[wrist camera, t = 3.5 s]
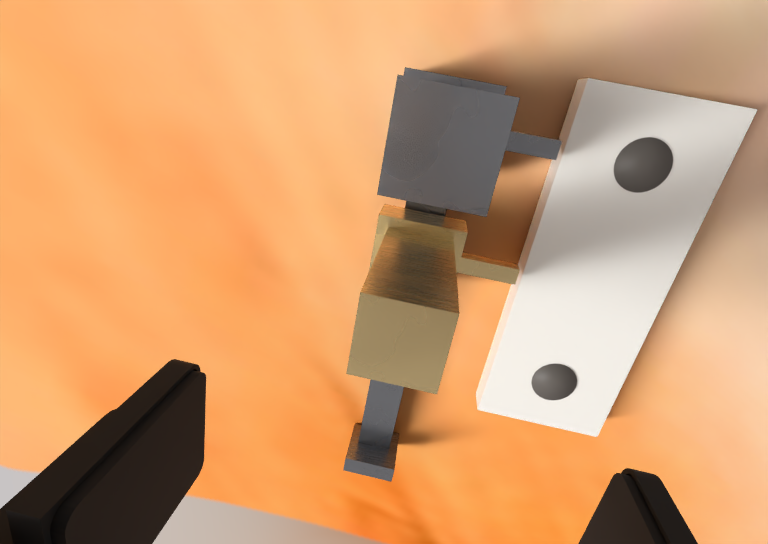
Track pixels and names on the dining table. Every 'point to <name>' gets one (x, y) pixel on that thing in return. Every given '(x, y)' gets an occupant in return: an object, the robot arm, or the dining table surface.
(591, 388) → the hole plate
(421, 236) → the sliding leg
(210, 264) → the dining table surface
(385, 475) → the rail
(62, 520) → the robot arm
